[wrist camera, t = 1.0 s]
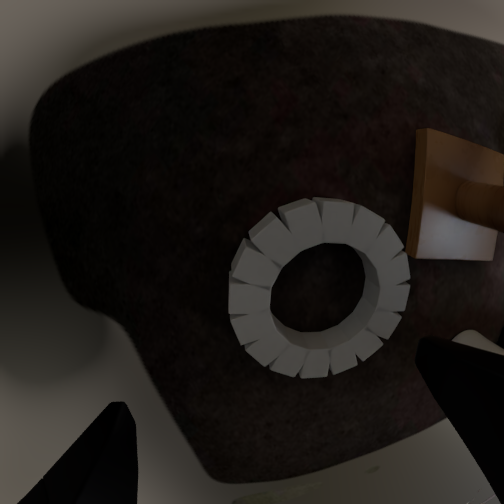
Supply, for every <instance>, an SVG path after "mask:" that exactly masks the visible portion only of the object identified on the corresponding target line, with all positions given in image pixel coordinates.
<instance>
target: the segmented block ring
mask: <svg viewBox="0 0 504 504" xmlns="http://www.w3.org/2000/svg"><path fill="white" fill-rule="evenodd" d="M278 212H279V215H280V217H281V220H282V222H281V221H280V220H279V219H278V218H277V217H276V216H275V215H274V214H273V213H272V212H270V213H269V214H267V215H266V216H265V217H264V218H263V219H262V220H261V221H260V222H259V223H257V224H256V225H255V226H254V227H253V228H252V229H251V230H250V231H249V236H250V239H251V241H250V240H248V239H246V238H244V239H243V240H242V242H241V244H240V247H239V249H238V251H237V253H236V255H235V257H234V259H233V261H232V263H231V268H232V271H229V299H228V308H229V314H230V322H231V324H232V326H233V329H234V331H235V333H236V335H237V338H238V340H239V342H240V344H241V345H243V344H245V351H246V352H248V353H249V354H250V355H251V356H252V357H253V358H255V359H256V360H257V361H258V362H259V363H260V364H262V365H263V366H264V367H265V366H266V365H268V364H269V366H270V370H272V371H275V372H278V373H282V374H285V375H288V376H291V377H295V376H296V374H297V373H298V371H299V374H300V377H301V378H315V377H327V373H328V369H329V368H330V370H331V372H332V374H333V375H334V374H337V373H339V372H342V371H344V370H347V369H349V368H352V367H354V366H356V365H357V360H356V355H357V356H358V357H359V358H360V359H361V360H362V361H365V360H366V359H367V358H368V357H369V356H371V355H372V354H373V353H374V352H375V351H377V350H378V349H379V348H380V347H381V346H382V345H383V343H382V342H381V340H380V339H379V338H378V337H377V336H380V337H382V338H385V339H389V337H390V336H391V334H392V333H393V331H394V329H395V328H396V326H397V325H398V323H399V321H400V320H401V318H402V316H401V315H399V314H398V313H397V312H396V311H405V307H406V303H407V299H408V294H409V290H410V285H409V284H408V283H406V282H405V281H407V280H409V279H410V272H409V265H408V259H407V254H406V253H405V252H403V251H401V250H402V249H403V248H404V245H403V244H402V242H401V241H400V239H399V238H398V236H397V235H396V233H395V231H394V230H393V228H392V227H391V225H389V224H386V223H384V222H385V219H383V218H382V217H380V216H378V215H377V214H375V213H373V212H372V211H370V210H368V209H367V208H365V207H363V206H361V205H358V204H354V203H352V202H348V201H344V200H341V199H332V198H320V197H313V198H312V201H311V200H309V199H306V198H304V199H301V200H298V201H295V202H292V203H289V204H287V205H284V206H281V207H278ZM321 243H339V244H347V245H349V246H351V247H353V248H354V250H355V251H356V252H357V254H358V255H359V256H360V258H361V259H362V262H363V267H364V271H365V276H366V278H365V284H364V290H363V295H362V297H361V299H360V301H359V302H358V304H357V306H356V307H355V309H354V311H353V312H352V313H351V314H350V315H349V316H348V317H347V318H346V319H344V320H343V321H342V322H341V323H340V324H338V325H337V326H334V327H332V328H329V329H327V330H324V331H321V332H299V331H296V330H294V329H291V328H288V327H286V326H284V325H283V324H282V323H281V322H280V321H279V320H278V319H277V318H276V317H275V316H274V315H273V314H272V313H271V310H270V298H271V288H272V286H273V284H274V282H275V280H276V278H277V276H278V275H279V273H280V271H281V269H282V267H283V266H285V265H286V264H287V263H288V262H289V261H290V260H291V259H293V258H294V257H295V256H296V255H297V254H298V253H299V252H300V251H302V250H305V249H308V248H310V247H313V246H316V245H319V244H321ZM355 354H356V355H355Z"/></svg>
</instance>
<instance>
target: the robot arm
mask: <svg viewBox="0 0 504 504" xmlns="http://www.w3.org/2000/svg"><path fill="white" fill-rule="evenodd" d="M497 345H498V346H500V347H501V348H503V349H504V328H503V330H502V333H501V336H500V339H499V341H498V344H497ZM415 364H416V366H417V368H418V370H419V372H420V373H421V375H422V377H423V379H424V380H425V382H426V384H427V386H428V388H429V390H430V391H431V393H432V395H433V397H434V398H435V400H436V401H437V403H438V404H439V406H440V407H441V409H442V410H443V412H444V413H445V415H446V416H447V418H448V419H449V421H450V422H451V424H452V425H453V426H454V428H455V430H456V431H457V432H458V434H459V436H460V437H461V439H462V440H463V442H464V443H465V445H466V446H467V448H468V449H469V451H470V453H471V454H472V456H473V457H474V459H475V460H476V462H477V464H478V465H479V467H480V468H481V470H482V472H483V473H484V475H485V477H486V478H487V480H488V482H489V483H490V485H491V487H492V489H493V491H494V492H495V494H496V496H497V497H498V499H499V501H500V503H501V504H504V355H501V354H497V353H494V352H490V351H486V350H483V349H479V348H476V347H472V346H468V345H465V344H461V343H458V342H454V341H451V340H447V339H444V338H440V337H437V336H433V335H428V336H425V337H422V338H421V339H420V340H419V342H418V346H417V350H416V355H415ZM137 491H138V457H137V437H136V424H135V421H134V418H133V417H132V415H131V413H130V411H129V409H128V407H127V405H126V404H125V402H111V403H110V404H109V405H108V406H107V407H106V408H105V409H104V410H103V411H102V412H101V413H100V414H99V416H98V417H97V418H96V419H95V420H94V421H93V422H92V423H91V424H90V426H89V427H88V428H87V429H86V430H85V431H84V432H83V433H82V435H80V437H79V438H78V439H77V440H76V441H75V442H74V443H73V444H72V445H71V447H70V448H69V449H68V450H67V451H66V452H65V453H64V454H63V456H61V458H60V459H59V460H58V461H57V462H56V463H55V464H54V465H53V466H52V468H51V469H50V470H49V471H48V472H47V473H46V474H45V475H44V476H43V479H41V480H40V481H39V482H38V483H37V484H36V485H35V486H34V487H33V488H32V489H31V491H29V493H28V494H27V495H26V496H25V497H24V498H23V499H21V500H20V501H19V502H18V503H17V504H137Z"/></svg>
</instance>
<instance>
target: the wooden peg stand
mask: <svg viewBox="0 0 504 504" xmlns="http://www.w3.org/2000/svg"><path fill="white" fill-rule="evenodd" d="M503 175H504V155H503V154H501V153H499V152H496V151H494V150H491V149H489V148H486V147H483V146H481V145H478V144H475V143H473V142H470V141H467V140H464V139H461V138H458V137H455V136H452V135H449V134H446V133H443V132H440V131H436V130H433V129H430V128H424V129H417V130H416V147H415V168H414V182H413V194H412V204H411V213H410V221H409V229H408V236H407V243H406V249H405V253H406V254H407V255H409V256H411V257H413V258H415V259H438V260H471V261H492V260H493V255H494V250H495V244H496V239H497V232H498V231H499V232H502V233H504V186H503Z"/></svg>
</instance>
